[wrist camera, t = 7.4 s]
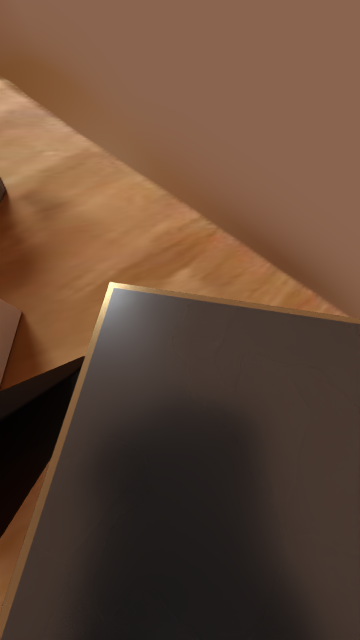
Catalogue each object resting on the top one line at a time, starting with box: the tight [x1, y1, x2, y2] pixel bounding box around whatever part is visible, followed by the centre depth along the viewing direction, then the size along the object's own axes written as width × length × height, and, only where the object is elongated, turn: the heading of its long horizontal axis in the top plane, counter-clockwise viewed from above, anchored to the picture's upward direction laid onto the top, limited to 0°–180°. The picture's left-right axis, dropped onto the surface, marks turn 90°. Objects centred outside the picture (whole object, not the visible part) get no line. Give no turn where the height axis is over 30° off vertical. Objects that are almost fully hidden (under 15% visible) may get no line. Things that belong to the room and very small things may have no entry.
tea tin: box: [0, 282, 360, 640], centre depth 8 cm, size 5×5×12 cm
